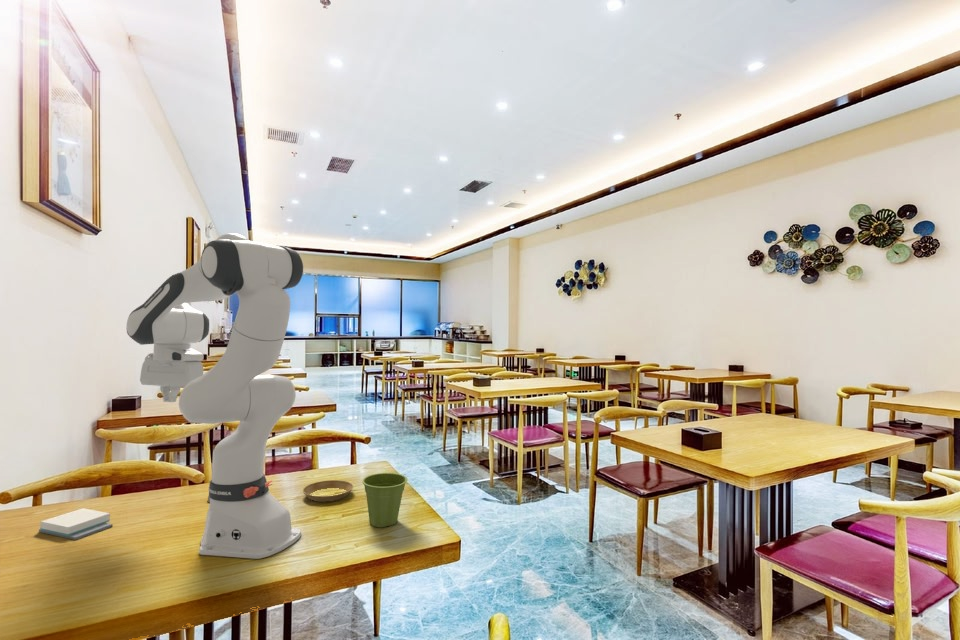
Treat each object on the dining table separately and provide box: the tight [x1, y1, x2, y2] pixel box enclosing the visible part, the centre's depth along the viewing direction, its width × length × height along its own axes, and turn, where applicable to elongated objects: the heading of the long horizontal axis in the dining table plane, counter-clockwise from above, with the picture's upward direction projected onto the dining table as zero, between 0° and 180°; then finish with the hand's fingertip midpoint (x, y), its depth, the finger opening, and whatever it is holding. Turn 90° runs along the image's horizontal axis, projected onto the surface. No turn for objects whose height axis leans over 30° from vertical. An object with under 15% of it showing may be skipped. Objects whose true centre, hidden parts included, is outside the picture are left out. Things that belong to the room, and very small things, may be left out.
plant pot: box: [361, 472, 408, 528], centre depth 118 cm, size 12×12×11 cm
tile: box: [39, 507, 111, 536], centre depth 111 cm, size 10×2×9 cm
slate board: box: [38, 522, 113, 541], centre depth 110 cm, size 13×8×1 cm, turn 73°
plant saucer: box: [302, 479, 354, 503], centre depth 137 cm, size 15×15×3 cm
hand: (169, 401), depth 129 cm, fingers closed
